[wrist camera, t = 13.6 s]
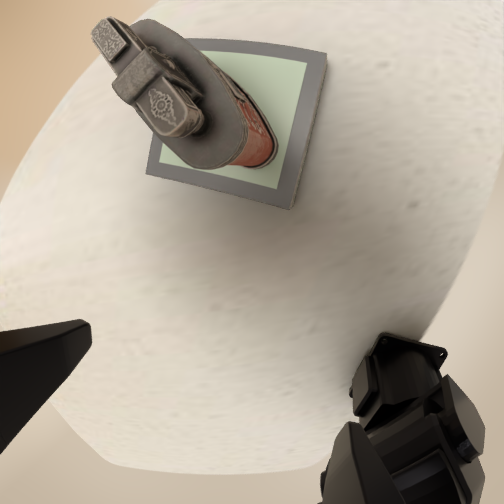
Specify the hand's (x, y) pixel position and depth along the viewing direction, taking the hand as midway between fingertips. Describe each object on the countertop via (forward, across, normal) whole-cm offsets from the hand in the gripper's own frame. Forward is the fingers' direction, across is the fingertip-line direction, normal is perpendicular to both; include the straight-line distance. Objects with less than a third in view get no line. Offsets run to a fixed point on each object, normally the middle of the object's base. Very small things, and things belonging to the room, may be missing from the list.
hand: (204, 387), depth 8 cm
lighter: (+11, +5, -9) cm, 15 cm away
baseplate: (+13, +5, -9) cm, 17 cm away
